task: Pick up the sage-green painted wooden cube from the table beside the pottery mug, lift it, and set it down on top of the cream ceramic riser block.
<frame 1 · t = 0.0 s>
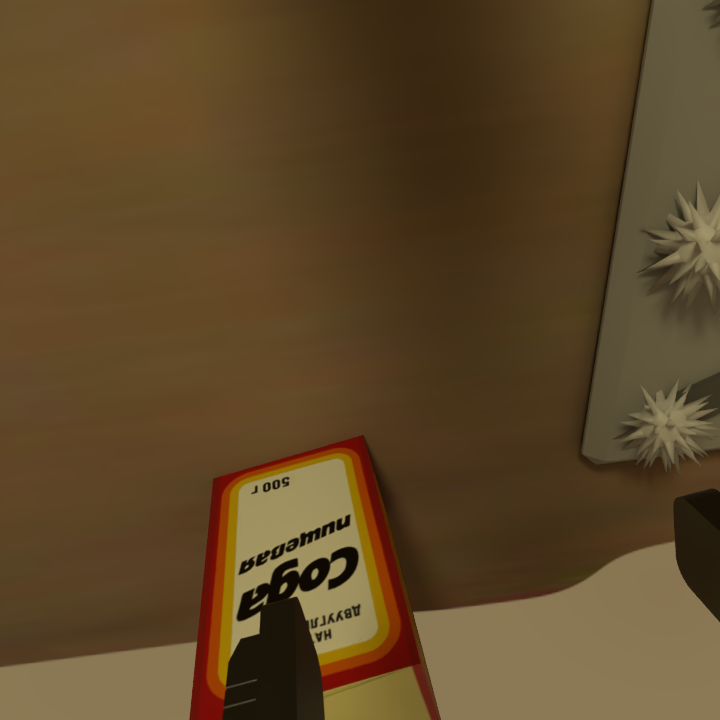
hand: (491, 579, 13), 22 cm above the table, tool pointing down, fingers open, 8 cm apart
baking soda box: (303, 494, 40), on the table
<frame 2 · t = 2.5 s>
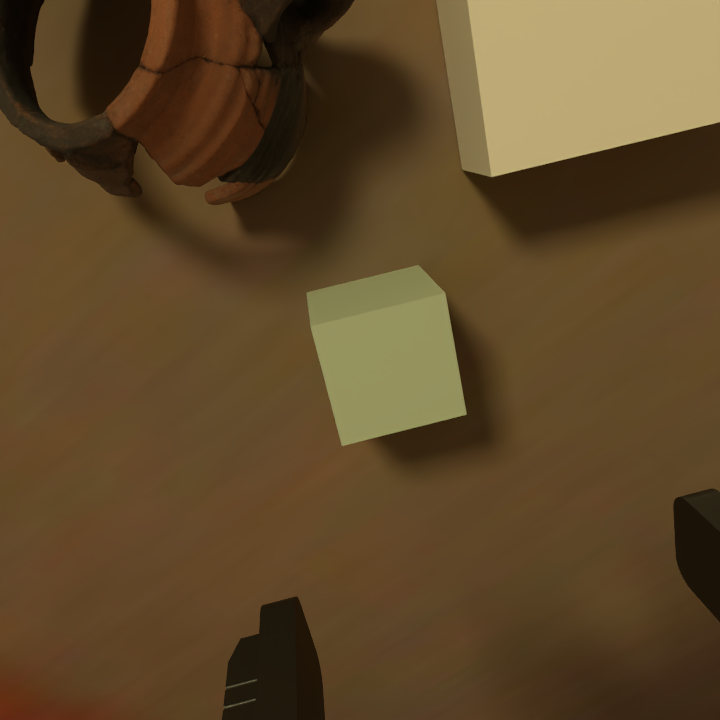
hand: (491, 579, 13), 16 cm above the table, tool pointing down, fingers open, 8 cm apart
cube: (374, 331, 28), on the table
riser: (566, 8, 24), on the table
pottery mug: (205, 62, 24), on the table
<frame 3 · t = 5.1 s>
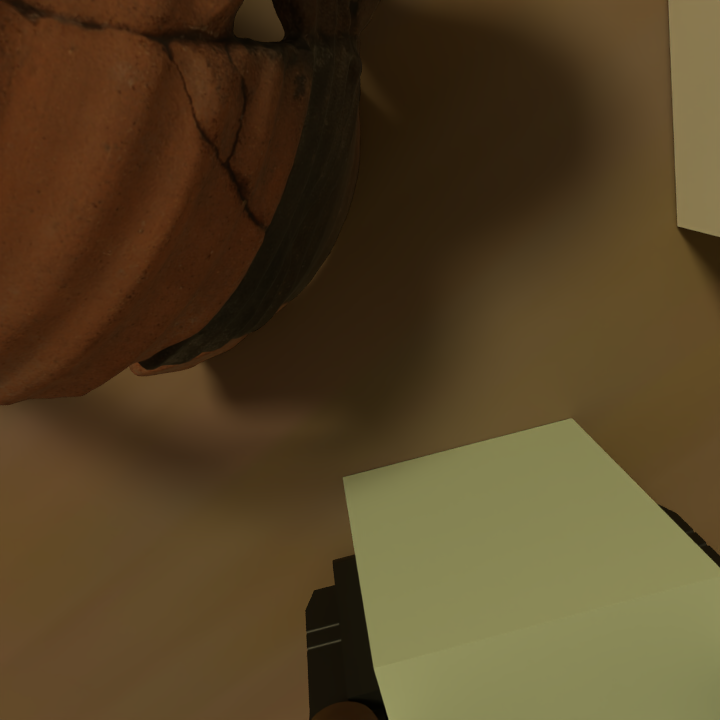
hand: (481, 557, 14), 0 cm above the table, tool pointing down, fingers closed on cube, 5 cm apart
cube: (476, 542, 14), on the table, touching gripper
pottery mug: (123, 46, 10), on the table
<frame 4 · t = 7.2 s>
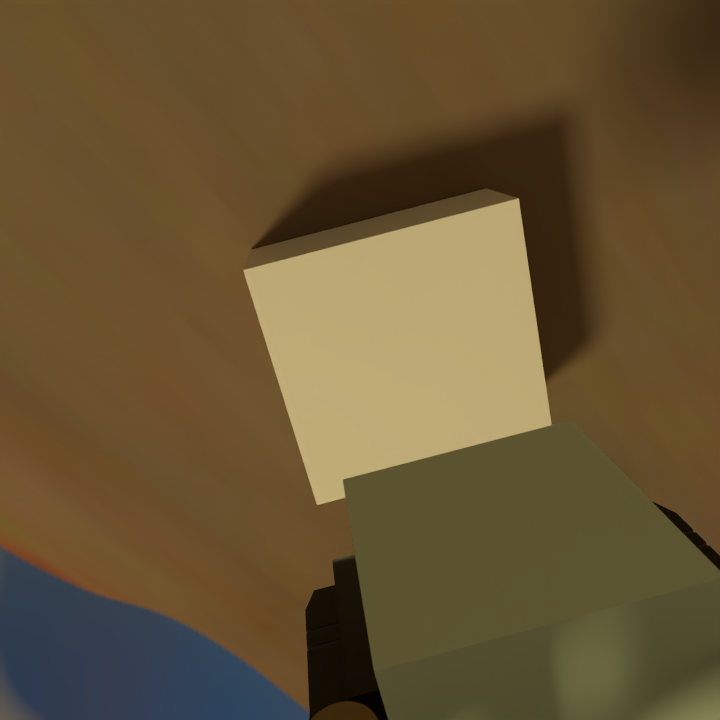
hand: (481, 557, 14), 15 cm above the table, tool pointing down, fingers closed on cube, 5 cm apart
cube: (476, 544, 14), point 15 cm above the table, touching gripper
riser: (394, 331, 28), on the table
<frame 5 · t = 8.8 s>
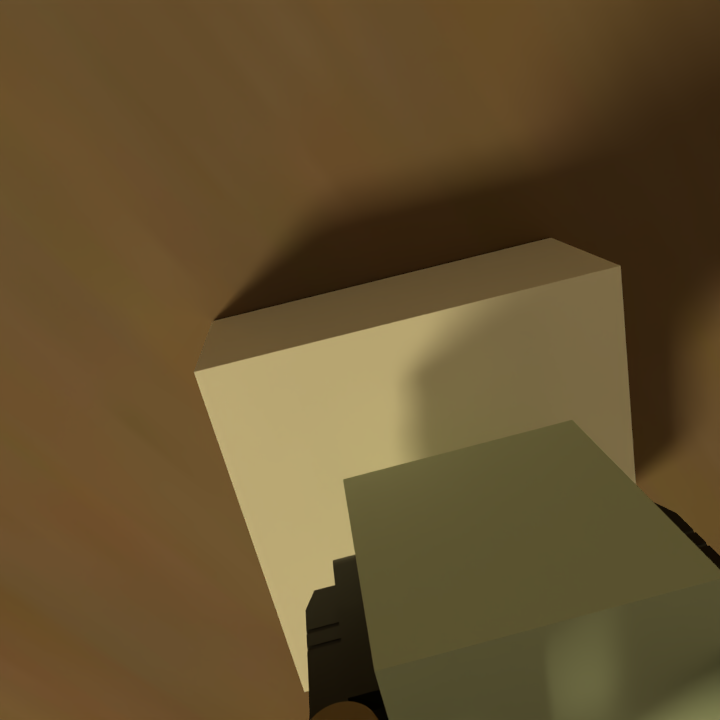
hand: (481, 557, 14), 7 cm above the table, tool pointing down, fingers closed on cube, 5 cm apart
cube: (476, 544, 14), point 6 cm above the table, touching gripper
riser: (415, 430, 20), on the table
when the fingers open (6 cm above the table, at t = 9.8 s): cube drops 1 cm, resting on riser.
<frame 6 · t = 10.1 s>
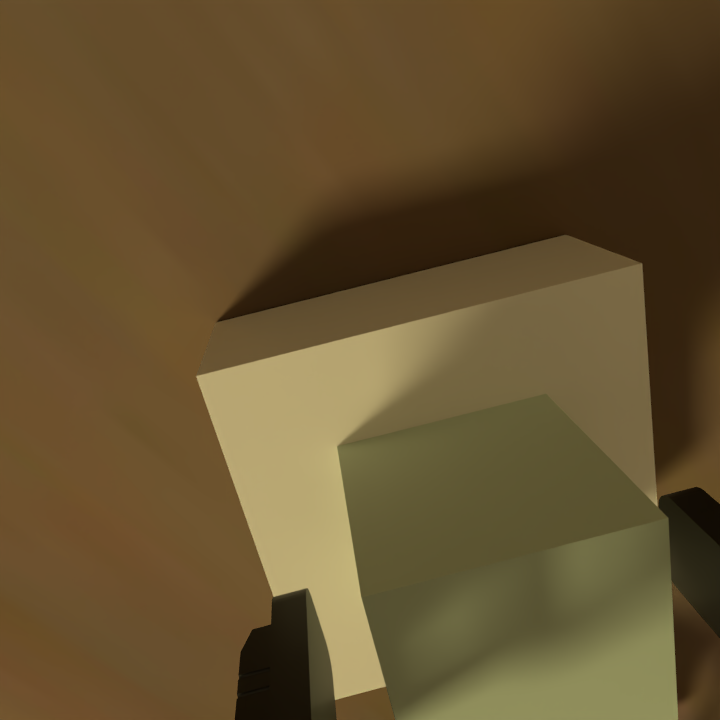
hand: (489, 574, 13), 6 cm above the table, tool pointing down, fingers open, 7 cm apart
cube: (459, 508, 15), point 4 cm above the table, touching riser
riser: (425, 434, 19), on the table
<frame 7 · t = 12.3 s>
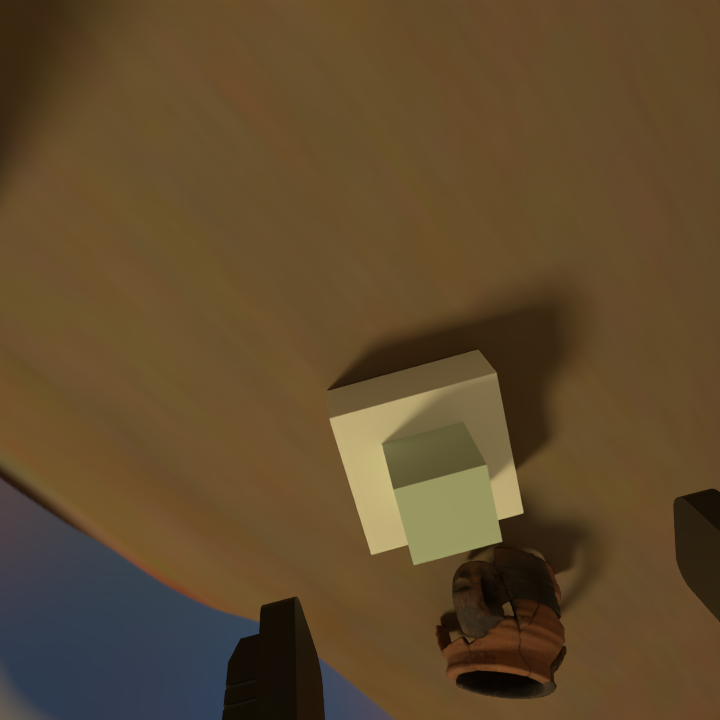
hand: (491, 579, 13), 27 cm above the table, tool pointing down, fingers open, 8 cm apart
cube: (430, 468, 38), point 4 cm above the table, touching riser
riser: (419, 437, 42), on the table
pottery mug: (485, 587, 47), on the table
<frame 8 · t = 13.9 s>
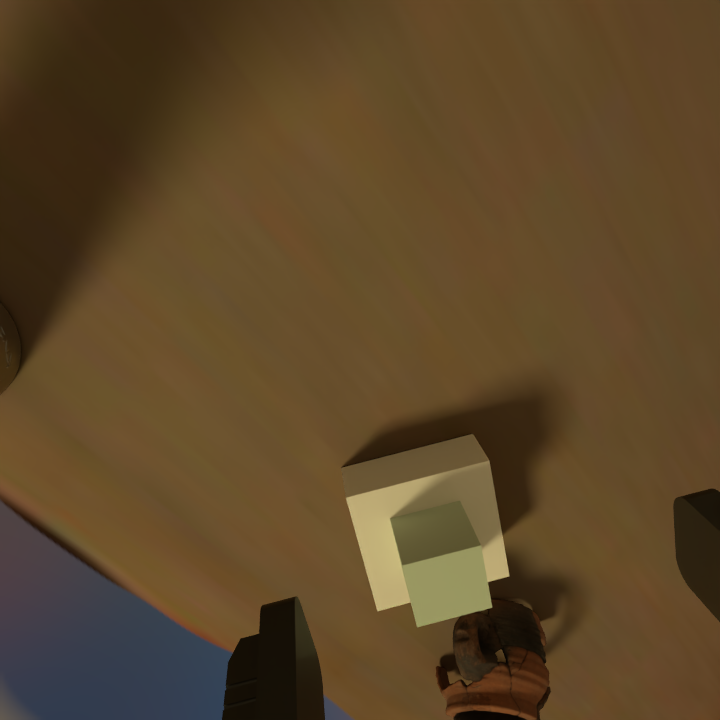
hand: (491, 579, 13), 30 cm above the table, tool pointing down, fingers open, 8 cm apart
cube: (431, 538, 44), point 4 cm above the table, touching riser
riser: (419, 506, 48), on the table
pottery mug: (479, 633, 53), on the table
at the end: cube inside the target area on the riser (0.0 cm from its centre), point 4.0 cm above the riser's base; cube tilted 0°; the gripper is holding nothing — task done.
